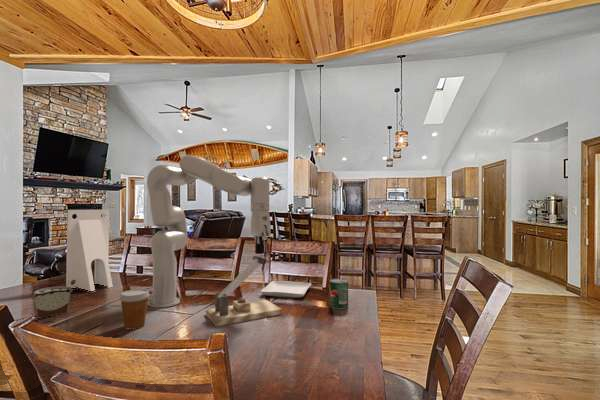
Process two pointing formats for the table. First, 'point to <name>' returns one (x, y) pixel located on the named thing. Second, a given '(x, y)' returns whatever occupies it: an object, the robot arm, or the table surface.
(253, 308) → the press base
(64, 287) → the food container
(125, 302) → the disposable coffee cup
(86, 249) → the white arched stand
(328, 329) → the table surface
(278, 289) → the salad plate
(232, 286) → the press lever
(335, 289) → the canned tomato
